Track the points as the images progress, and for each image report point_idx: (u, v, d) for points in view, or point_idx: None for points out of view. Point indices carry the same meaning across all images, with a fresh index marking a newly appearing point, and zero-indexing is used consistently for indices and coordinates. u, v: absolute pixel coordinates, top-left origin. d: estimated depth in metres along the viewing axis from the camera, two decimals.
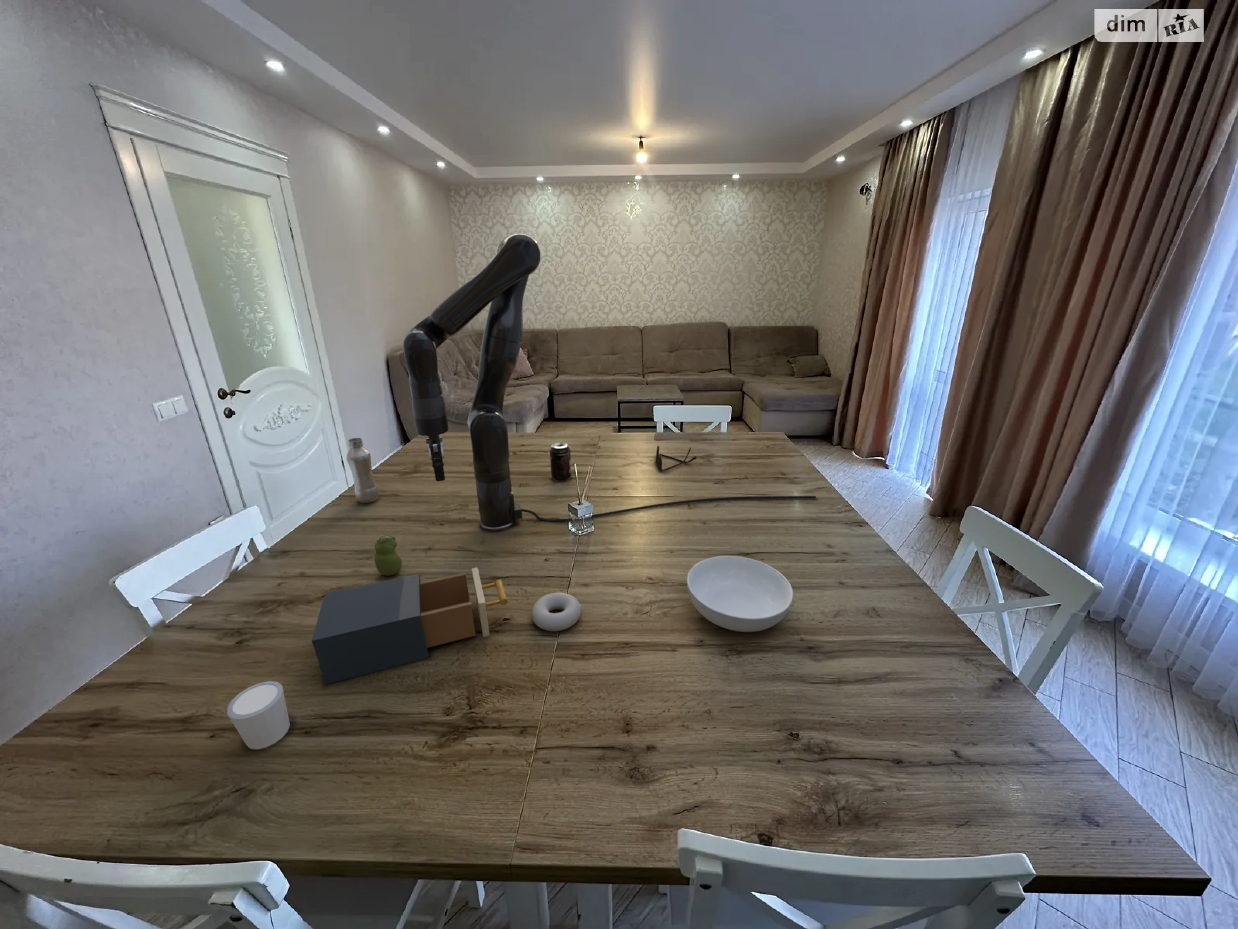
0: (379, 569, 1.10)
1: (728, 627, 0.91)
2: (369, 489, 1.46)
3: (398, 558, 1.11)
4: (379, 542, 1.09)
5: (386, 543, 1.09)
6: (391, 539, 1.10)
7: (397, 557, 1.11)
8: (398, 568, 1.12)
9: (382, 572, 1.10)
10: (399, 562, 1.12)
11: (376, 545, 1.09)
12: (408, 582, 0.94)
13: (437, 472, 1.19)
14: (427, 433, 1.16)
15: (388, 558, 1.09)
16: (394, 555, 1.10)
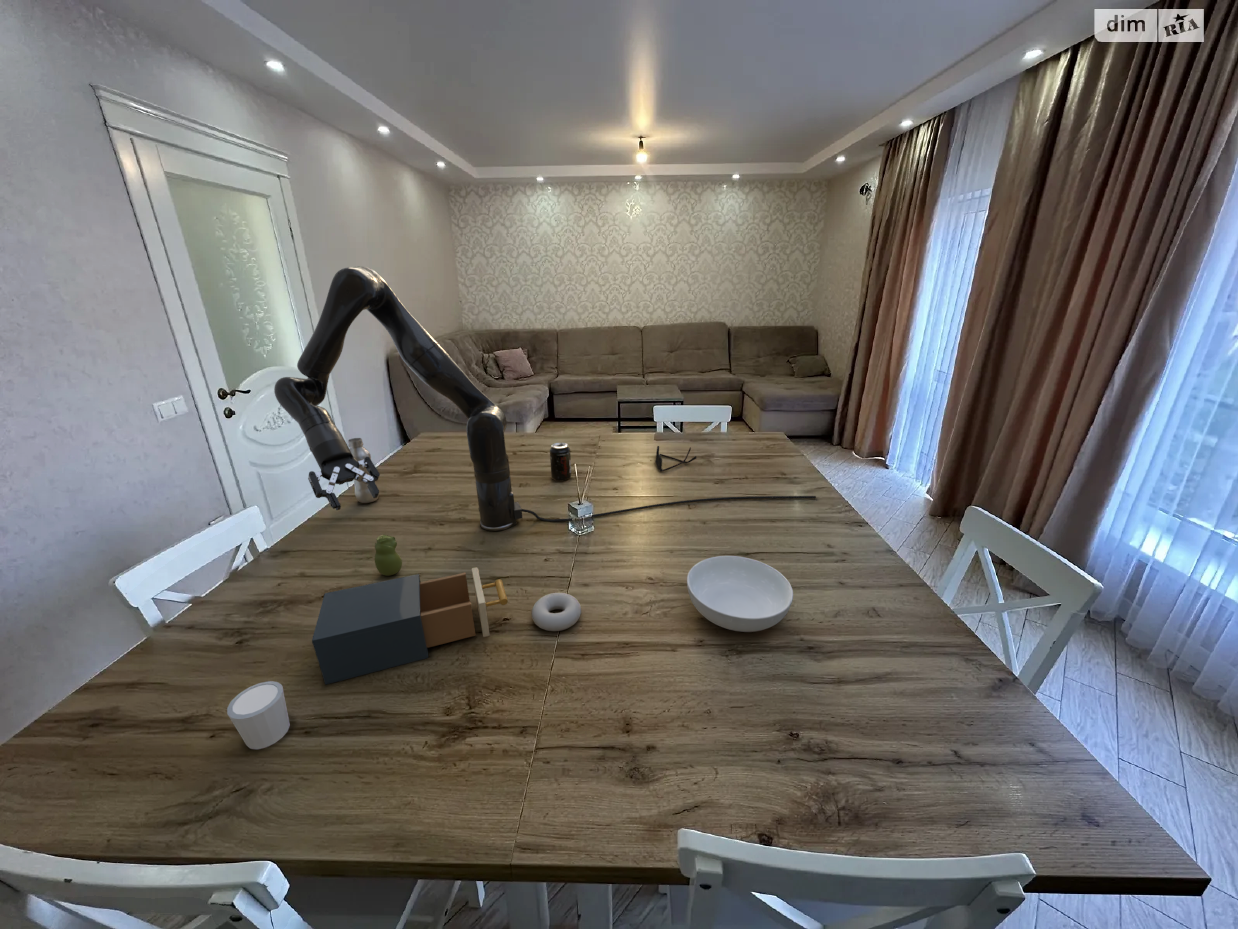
0: (379, 569, 1.10)
1: (728, 627, 0.91)
2: None
3: (398, 558, 1.11)
4: (379, 542, 1.09)
5: (386, 543, 1.09)
6: (391, 539, 1.10)
7: (397, 557, 1.11)
8: (398, 568, 1.12)
9: (382, 572, 1.10)
10: (399, 562, 1.12)
11: (376, 545, 1.09)
12: (408, 582, 0.94)
13: (329, 501, 1.12)
14: None
15: (388, 558, 1.09)
16: (394, 555, 1.10)
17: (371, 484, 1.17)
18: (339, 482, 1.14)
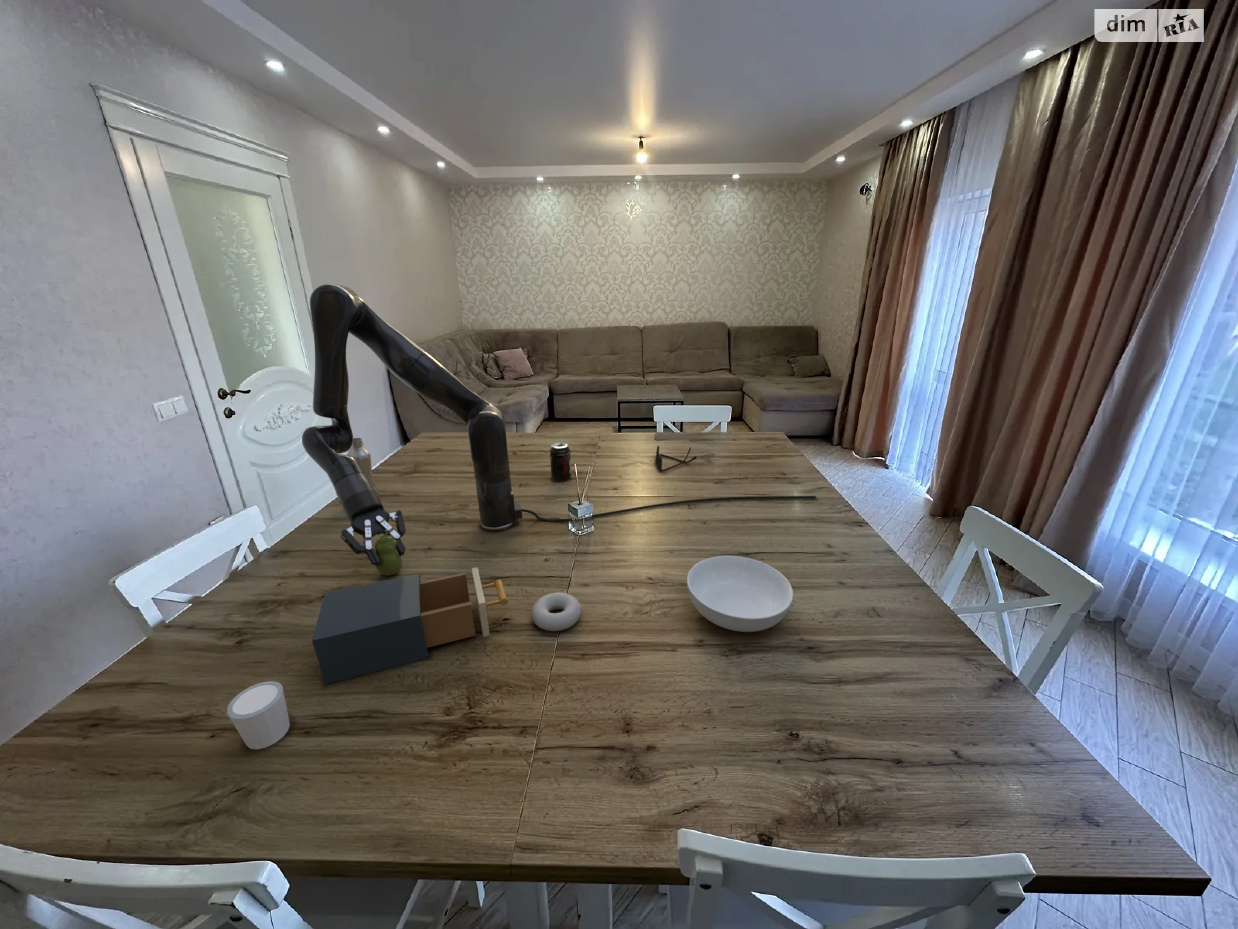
0: (379, 569, 1.10)
1: (728, 627, 0.91)
2: None
3: (398, 558, 1.11)
4: (379, 542, 1.09)
5: (386, 543, 1.09)
6: (391, 539, 1.10)
7: (397, 557, 1.11)
8: (398, 568, 1.12)
9: (382, 572, 1.10)
10: (399, 562, 1.12)
11: (376, 545, 1.09)
12: (408, 582, 0.94)
13: (368, 557, 1.08)
14: (349, 518, 1.11)
15: (388, 558, 1.09)
16: (394, 555, 1.10)
17: (397, 542, 1.12)
18: None
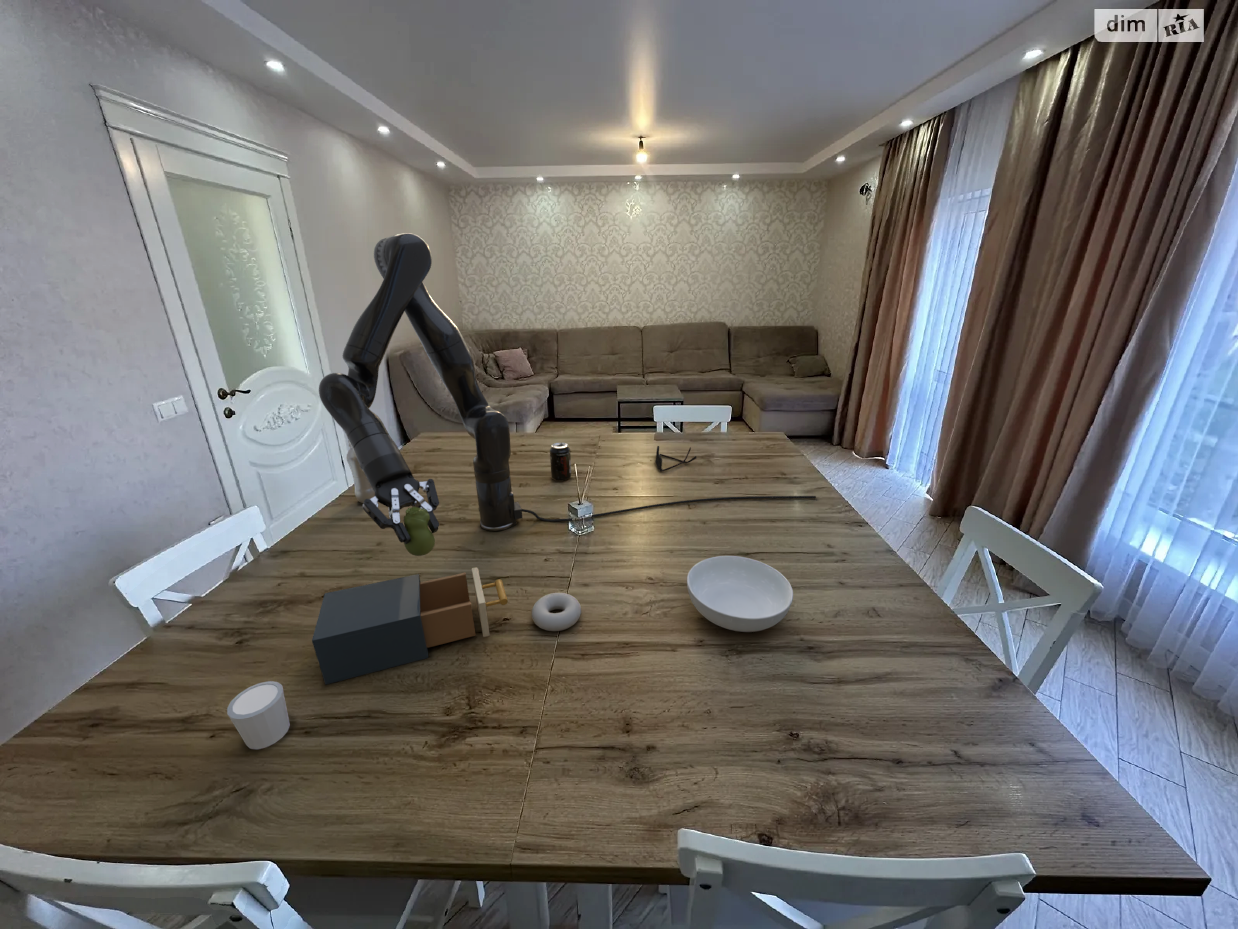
0: (408, 548, 0.92)
1: (728, 627, 0.91)
2: (369, 489, 1.46)
3: (431, 535, 0.93)
4: (409, 515, 0.90)
5: (418, 516, 0.90)
6: (423, 512, 0.91)
7: (430, 534, 0.92)
8: (431, 547, 0.93)
9: (412, 551, 0.92)
10: (432, 540, 0.93)
11: (405, 518, 0.90)
12: (408, 582, 0.94)
13: (396, 533, 0.90)
14: (372, 487, 0.92)
15: (419, 534, 0.91)
16: (426, 531, 0.92)
17: (430, 516, 0.93)
18: None
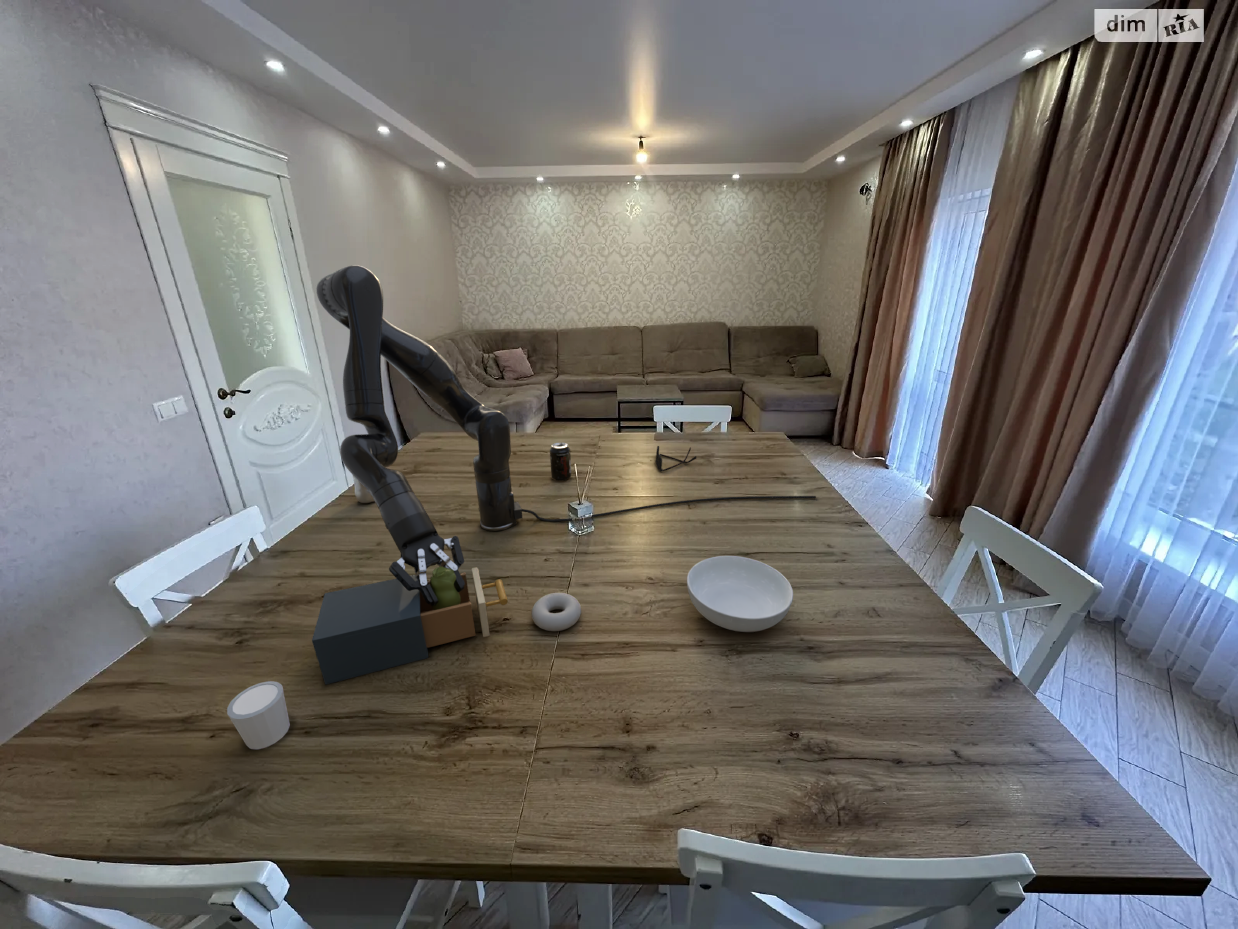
0: (435, 608, 0.91)
1: (728, 627, 0.91)
2: None
3: (457, 595, 0.92)
4: (436, 576, 0.90)
5: (445, 577, 0.90)
6: (450, 572, 0.91)
7: (456, 594, 0.92)
8: None
9: None
10: (458, 599, 0.93)
11: (432, 580, 0.90)
12: None
13: (423, 594, 0.90)
14: None
15: (446, 595, 0.90)
16: (453, 592, 0.91)
17: None
18: None
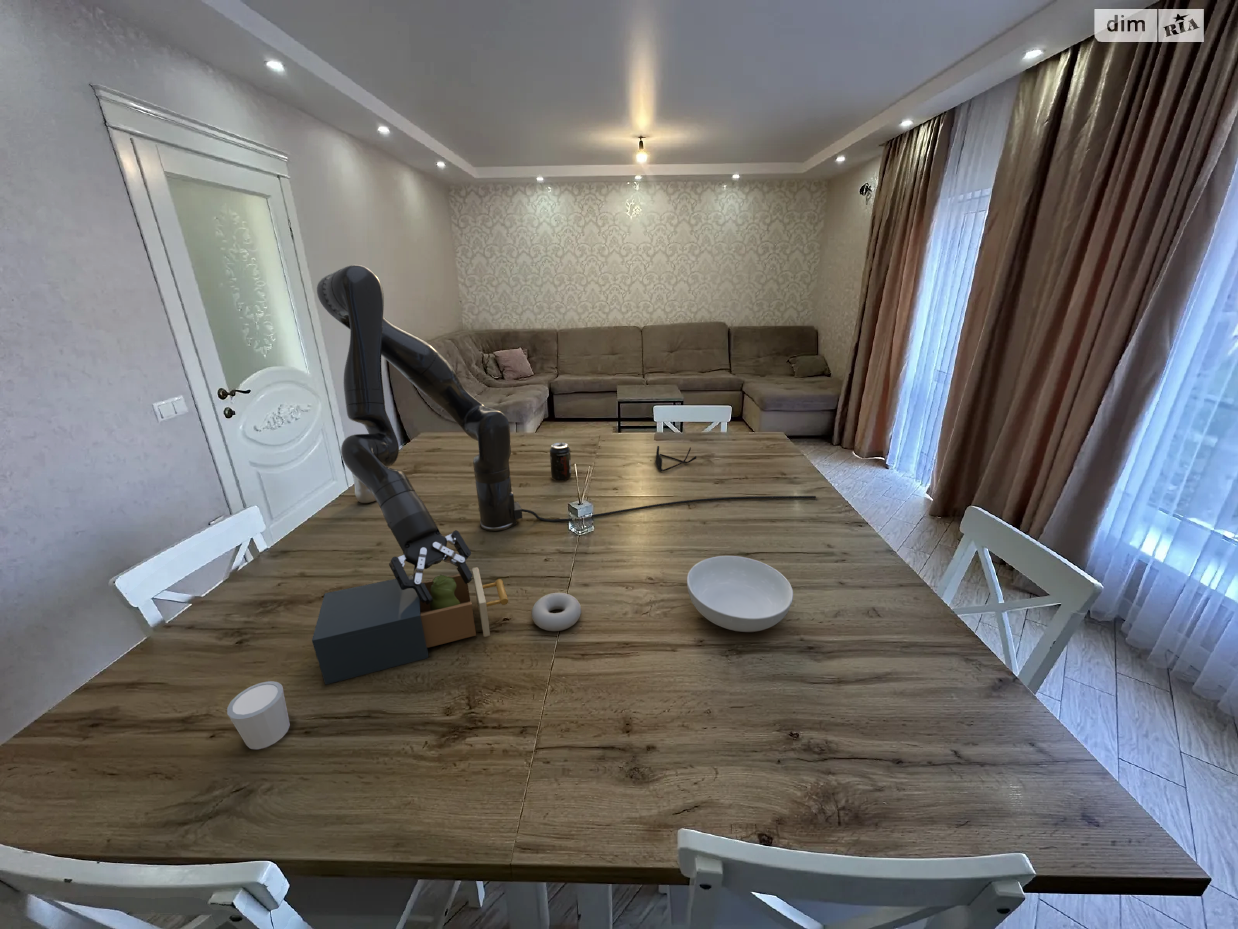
0: None
1: (728, 627, 0.91)
2: None
3: (457, 603, 0.93)
4: (436, 585, 0.90)
5: (445, 586, 0.91)
6: (450, 581, 0.91)
7: (456, 602, 0.93)
8: None
9: None
10: None
11: (433, 588, 0.90)
12: None
13: (417, 593, 0.89)
14: (400, 546, 0.92)
15: (446, 604, 0.91)
16: (453, 600, 0.92)
17: (463, 567, 0.94)
18: (426, 567, 0.91)
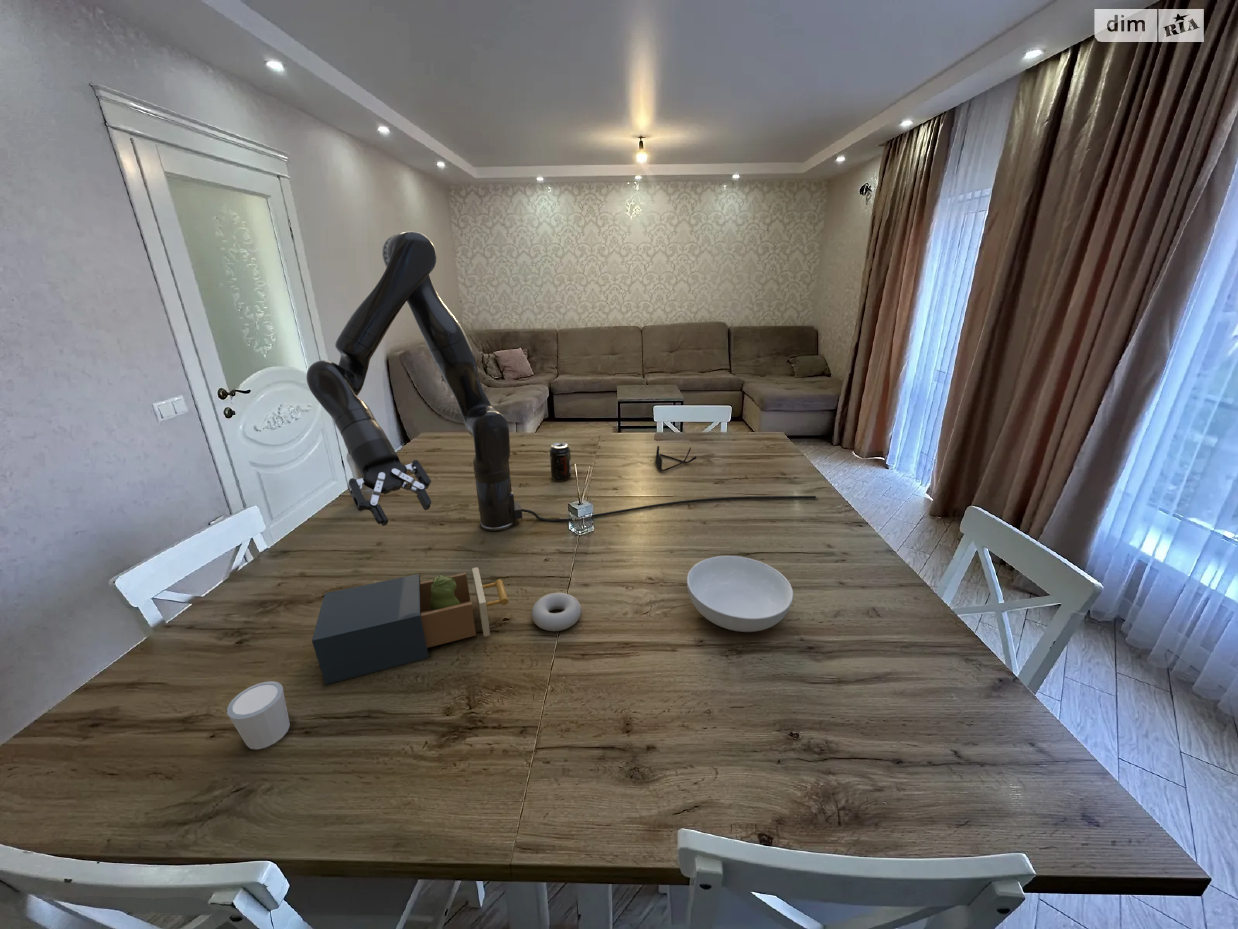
0: None
1: (728, 627, 0.91)
2: (369, 489, 1.46)
3: (457, 603, 0.93)
4: (436, 585, 0.90)
5: (445, 586, 0.91)
6: (450, 581, 0.91)
7: (456, 602, 0.93)
8: None
9: None
10: None
11: (433, 588, 0.90)
12: (408, 582, 0.94)
13: (373, 514, 0.91)
14: (359, 471, 0.94)
15: (446, 604, 0.91)
16: (453, 600, 0.92)
17: (422, 493, 0.97)
18: (384, 491, 0.94)
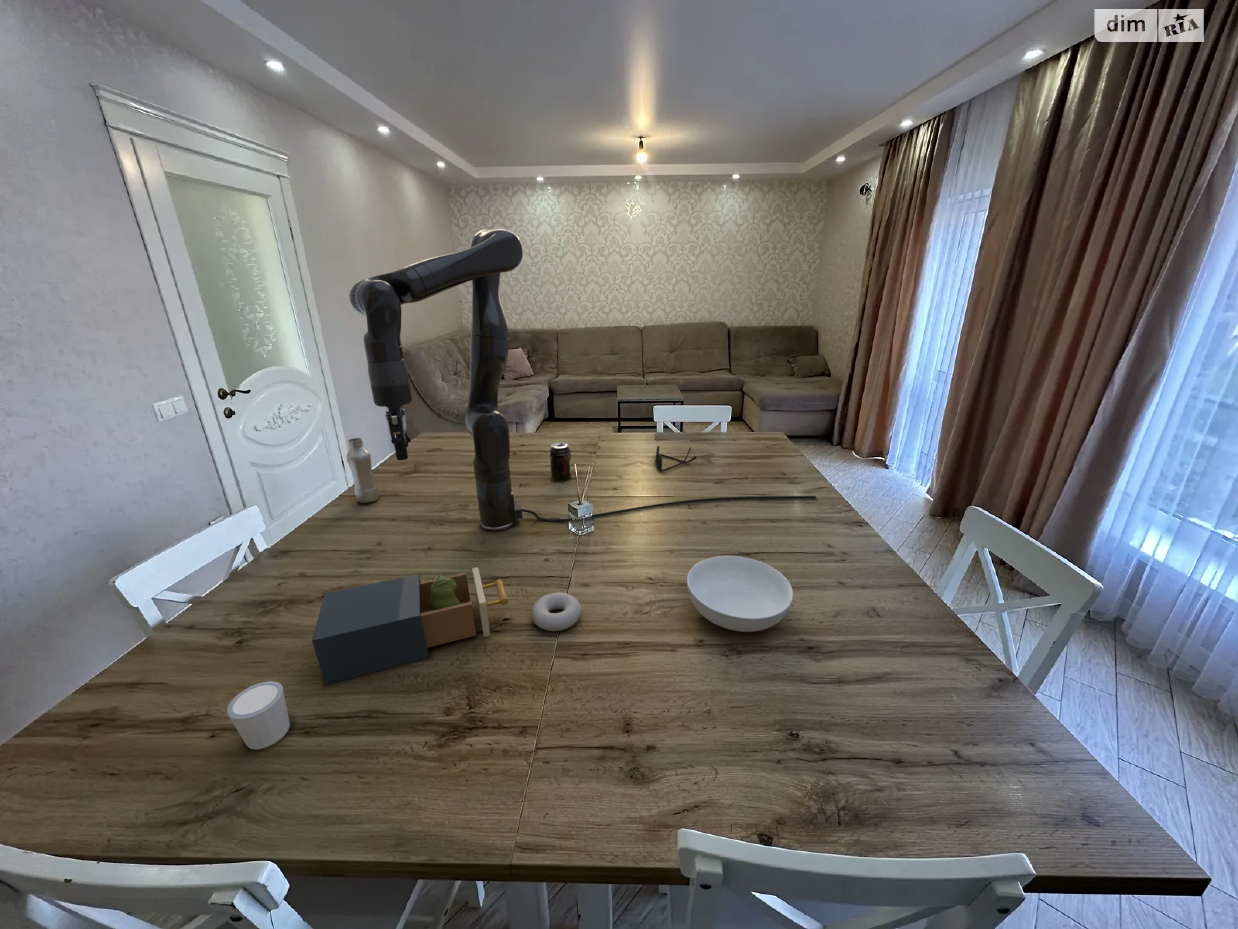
0: None
1: (728, 627, 0.91)
2: (369, 489, 1.46)
3: (457, 603, 0.93)
4: (436, 585, 0.90)
5: (445, 586, 0.91)
6: (450, 581, 0.91)
7: (456, 602, 0.93)
8: None
9: None
10: None
11: (433, 588, 0.90)
12: (408, 582, 0.94)
13: (398, 449, 1.02)
14: (385, 403, 1.00)
15: (446, 604, 0.91)
16: (453, 600, 0.92)
17: None
18: None
